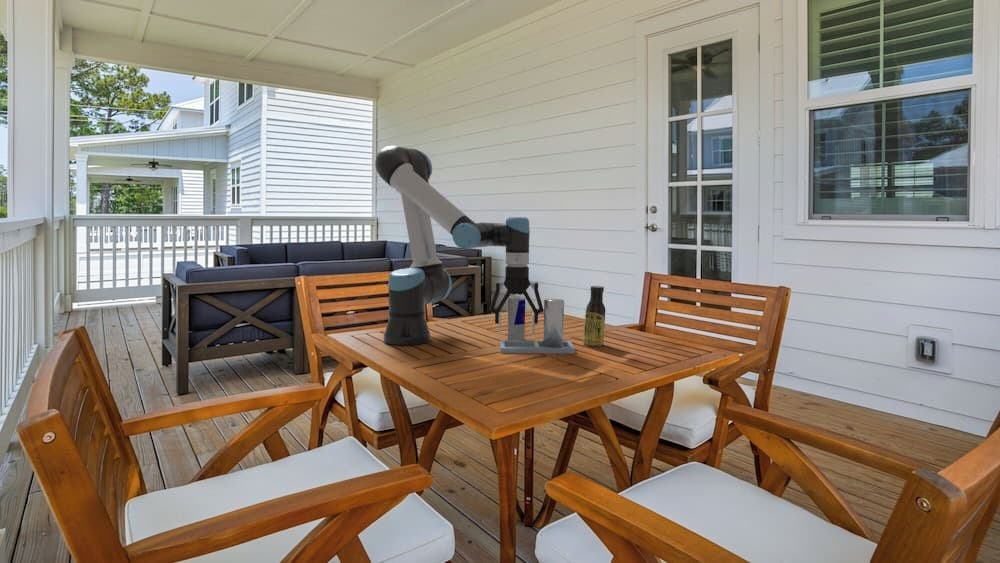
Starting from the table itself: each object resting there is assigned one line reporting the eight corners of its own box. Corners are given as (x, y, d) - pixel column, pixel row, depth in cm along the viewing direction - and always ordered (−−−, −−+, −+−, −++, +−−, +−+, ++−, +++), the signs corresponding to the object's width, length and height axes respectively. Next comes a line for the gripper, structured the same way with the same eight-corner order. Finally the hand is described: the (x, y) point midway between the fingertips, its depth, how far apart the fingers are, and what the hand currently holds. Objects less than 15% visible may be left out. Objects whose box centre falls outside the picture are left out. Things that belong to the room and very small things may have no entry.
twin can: (539, 349, 165) (540, 300, 164) (549, 345, 170) (551, 298, 168) (556, 352, 162) (557, 302, 160) (566, 348, 166) (567, 300, 165)
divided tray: (500, 356, 161) (500, 348, 161) (500, 348, 171) (500, 340, 170) (574, 357, 161) (575, 348, 161) (570, 348, 171) (570, 340, 171)
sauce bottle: (580, 349, 171) (582, 286, 168) (587, 345, 176) (588, 284, 174) (600, 352, 168) (602, 288, 165) (606, 347, 173) (608, 285, 171)
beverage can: (518, 346, 174) (518, 299, 172) (504, 343, 177) (504, 298, 176) (527, 342, 178) (528, 297, 177) (514, 340, 182) (514, 296, 180)
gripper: (481, 266, 171) (481, 335, 174) (553, 267, 171) (552, 336, 174) (482, 264, 178) (481, 330, 181) (551, 264, 179) (549, 331, 181)
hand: (516, 333), depth 178 cm, fingers open, 10 cm apart
